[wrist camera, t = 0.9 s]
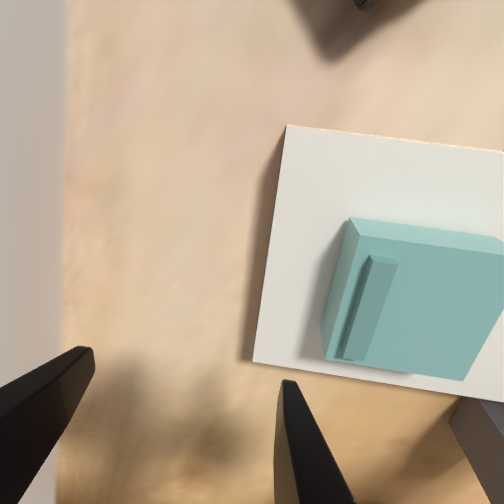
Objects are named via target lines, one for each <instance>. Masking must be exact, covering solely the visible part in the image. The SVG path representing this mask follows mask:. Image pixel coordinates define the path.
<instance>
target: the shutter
mask: <svg viewBox="0 0 504 504" xmlns="http://www.w3.org/2000/svg"><path fill="white" fill-rule="evenodd" d="M503 309H504V242H503V241H501V240H499V239H498V238H496V237H493V236H486V235H479V234H472V233H464V232H457V231H450V230H442V229H435V228H428V227H420V226H413V225H406V224H398V223H391V222H384V221H377V220H369V219H362V218H355V217H349V220H348V224H347V228H346V232H345V236H344V240H343V244H342V247H341V251H340V255H339V259H338V263H337V267H336V271H335V275H334V278H333V282H332V286H331V290H330V294H329V298H328V302H327V305H326V309H325V313H324V317H323V321H322V325H321V336H322V342H323V349H324V355H325V360H332V361H338V362H344V363H351V364H357V365H363V366H369V367H376V368H382V369H388V370H394V371H401V372H407V373H413V374H419V375H426V376H432V377H438V378H444V379H451V380H457V381H464V379H465V377H466V375H467V374H468V372H469V370H470V368H471V366H472V365H473V363H474V361H475V359H476V357H477V356H478V354H479V352H480V350H481V349H482V347H483V345H484V343H485V341H486V340H487V338H488V336H489V334H490V333H491V331H492V329H493V327H494V325H495V324H496V322H497V320H498V318H499V316H500V315H501V313H502V311H503Z"/></svg>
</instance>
